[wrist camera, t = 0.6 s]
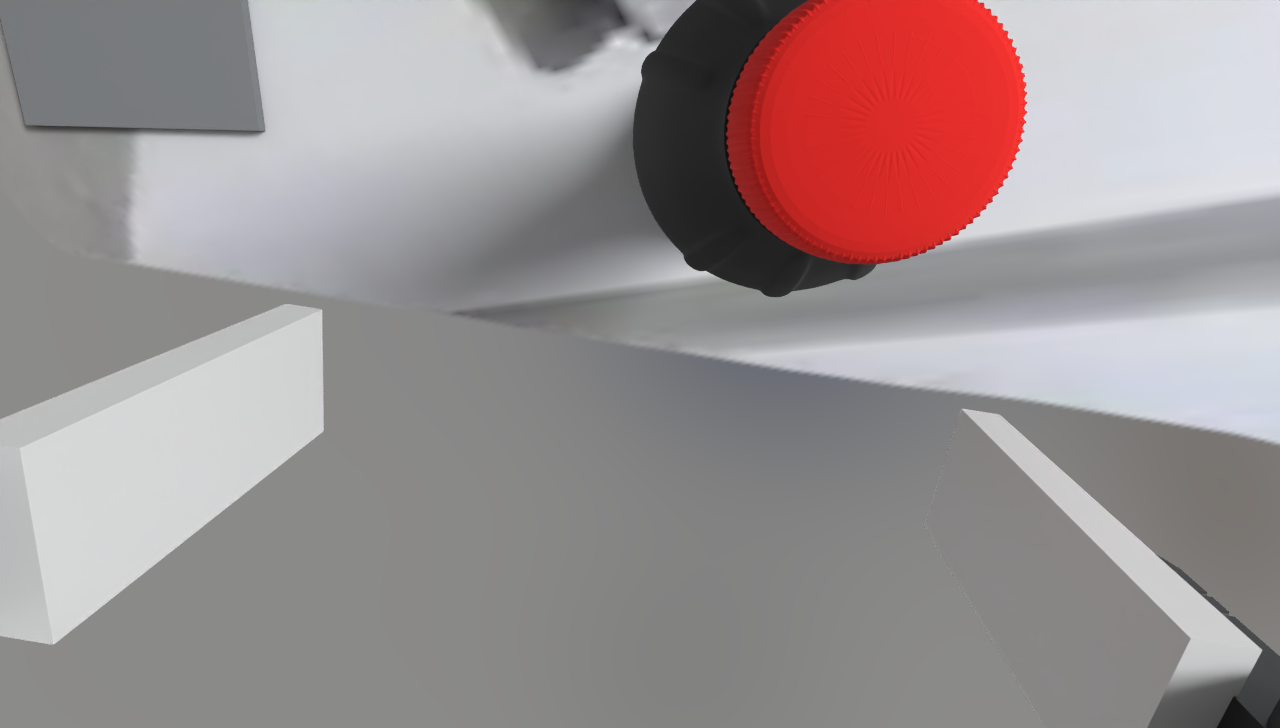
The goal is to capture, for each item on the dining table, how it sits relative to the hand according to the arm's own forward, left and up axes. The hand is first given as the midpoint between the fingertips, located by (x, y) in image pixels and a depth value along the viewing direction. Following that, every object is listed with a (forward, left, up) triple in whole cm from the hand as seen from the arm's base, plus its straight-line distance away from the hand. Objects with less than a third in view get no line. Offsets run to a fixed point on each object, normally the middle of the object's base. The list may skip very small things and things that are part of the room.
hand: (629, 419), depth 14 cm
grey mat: (-13, -30, -27) cm, 42 cm away
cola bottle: (-6, +4, -27) cm, 28 cm away
